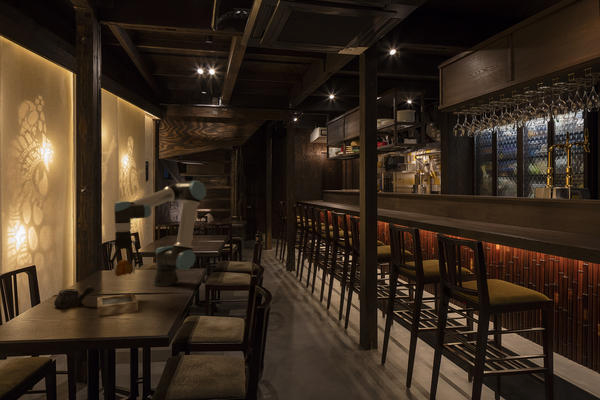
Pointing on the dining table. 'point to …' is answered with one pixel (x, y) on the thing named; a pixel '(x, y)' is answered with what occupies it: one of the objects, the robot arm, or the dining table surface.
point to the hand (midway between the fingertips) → (124, 274)
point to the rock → (123, 268)
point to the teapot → (71, 297)
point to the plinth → (117, 304)
